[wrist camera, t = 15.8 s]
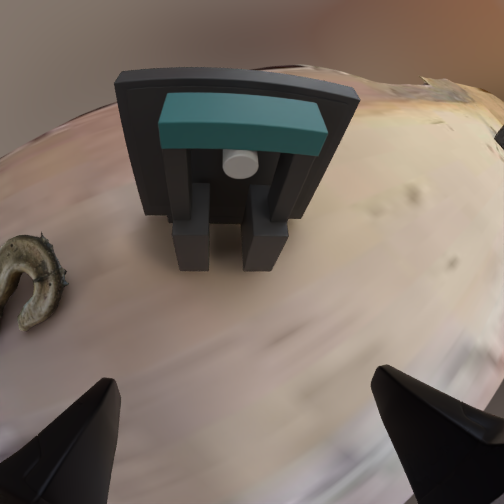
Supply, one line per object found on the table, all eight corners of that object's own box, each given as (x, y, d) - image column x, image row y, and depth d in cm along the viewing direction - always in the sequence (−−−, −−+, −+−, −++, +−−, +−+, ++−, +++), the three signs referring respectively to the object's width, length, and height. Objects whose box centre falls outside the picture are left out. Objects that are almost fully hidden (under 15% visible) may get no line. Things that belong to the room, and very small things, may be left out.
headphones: (271, 271, 22) (333, 145, 10) (179, 271, 21) (154, 135, 9) (267, 227, 24) (313, 94, 12) (182, 226, 23) (169, 84, 11)
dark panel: (304, 275, 25) (392, 158, 12) (140, 274, 22) (80, 142, 10) (286, 164, 30) (326, 49, 17) (158, 160, 28) (146, 35, 15)
